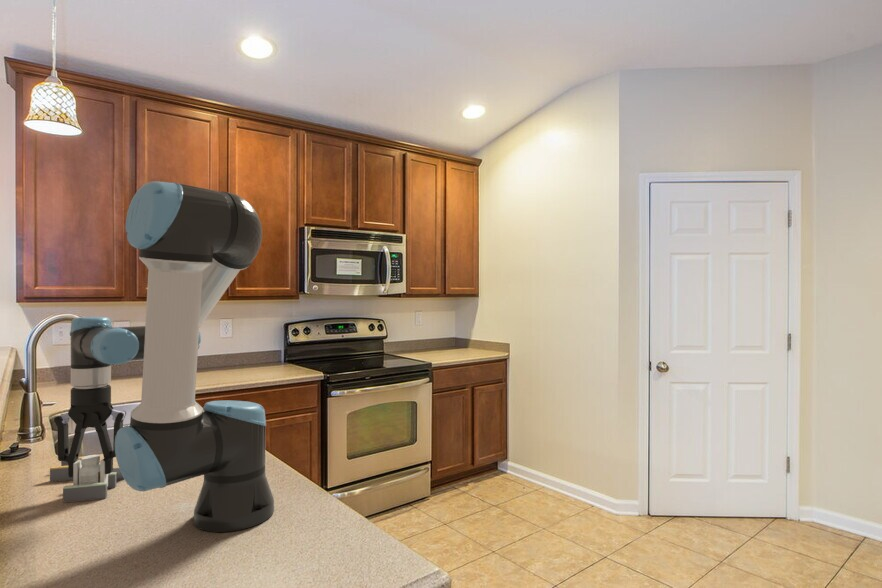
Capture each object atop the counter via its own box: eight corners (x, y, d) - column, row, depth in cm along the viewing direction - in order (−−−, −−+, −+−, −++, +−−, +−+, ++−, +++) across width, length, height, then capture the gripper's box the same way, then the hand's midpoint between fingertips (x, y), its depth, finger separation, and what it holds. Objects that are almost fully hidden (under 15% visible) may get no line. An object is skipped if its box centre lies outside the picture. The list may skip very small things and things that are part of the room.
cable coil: (121, 483, 121) (121, 476, 121) (87, 486, 119) (87, 479, 119) (129, 473, 128) (129, 466, 128) (97, 476, 126) (97, 469, 126)
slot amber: (88, 478, 124) (88, 465, 124) (49, 481, 122) (49, 468, 122) (99, 468, 131) (99, 455, 131) (62, 471, 129) (62, 458, 129)
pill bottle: (105, 491, 115) (104, 457, 115) (81, 497, 112) (81, 462, 111) (99, 485, 118) (99, 452, 118) (76, 491, 115) (76, 457, 114)
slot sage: (105, 498, 112) (105, 483, 112) (63, 502, 110) (63, 487, 110) (116, 486, 119) (116, 472, 119) (76, 489, 117) (76, 475, 117)
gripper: (139, 380, 121) (139, 479, 121) (52, 384, 116) (52, 487, 116) (130, 386, 114) (130, 491, 114) (37, 390, 108) (37, 500, 109)
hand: (91, 489), depth 115 cm, fingers closed on pill bottle, 4 cm apart
